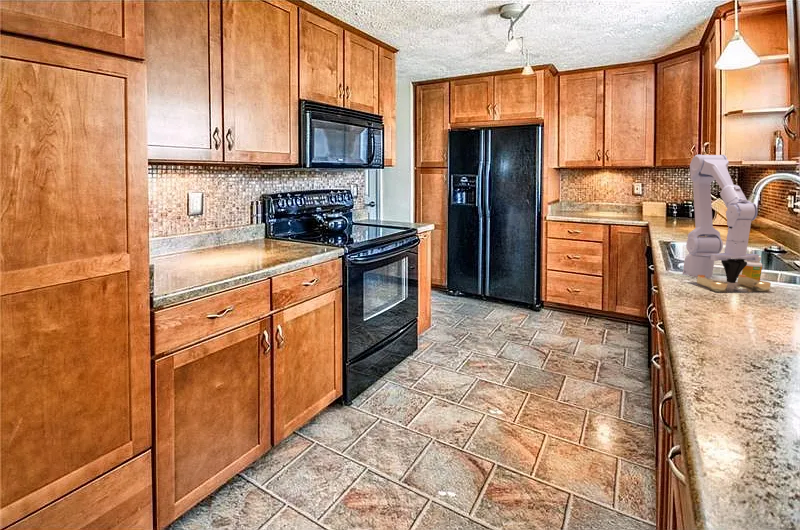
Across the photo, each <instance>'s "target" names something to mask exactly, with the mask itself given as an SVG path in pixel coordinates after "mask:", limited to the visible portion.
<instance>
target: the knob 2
mask: <svg viewBox="0 0 800 530" xmlns="http://www.w3.org/2000/svg"><path fill="white" fill-rule="evenodd" d="M736 282H737V283H739V284H742V285H745V286H748V287H752V289H753V290H756V291H762V292H769V291H771V284H772V283H771V282H769V281H765V280H760V281H758V280H755V279H751V278H748V277H746V275H742V274H739V276H738V278H737V281H736Z"/></svg>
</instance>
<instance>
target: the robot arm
mask: <svg viewBox="0 0 800 530" xmlns="http://www.w3.org/2000/svg"><path fill="white" fill-rule="evenodd" d="M729 163H730V161H729V160H728V157H727V155H725V154H696V155H694V156H693V157H692V159H691V161H690V164H689V173H690V174H689V175H690V180H691V181H692V188H693V205H694V223H695V224H694V225H695V226H694V227H695V228H693V229H692V230H691V231H690V232H688V234H687V241H686V245H685V246H686V250H687V251H688V254H686V256H685V257H684V260H683V268H682V275H689V276H691V277H696V278H698V275H705V277H706V278H709V279H712V278H713V273H714V267H715V262H716V261H717V262H718V261H721V264H722V266H723V269H724V272H725V277H726V282H730V283H735V282H737V281H738V276H739V275H741V273H742V270H743V268H744V267H745V266H746V265H747V262H745V261H747V260H754V261H758V259H759V256H760V255H759V254H756V253H747V251H748V246H749V237H750V233H751V225H752V222H753V221H754V220H756V219H757V217H758V207H757V204H756V203H754V202H751V201H750V200H748V199H747V198H746V195H745V193H744V192H743V190H742V188H741V187H740V185H738V184H734V182H733V179H732V177H731V175H730V172H729V170H728V167H729V166H730V165H729ZM714 181H716V183H717V185H718V186H719V187H720V189H721V191H720V192H719V195H720V198H721V200H722V201H723V204H724V205H725V208H727V209H726V211H725V217H726V225H727V226H728V227H727V234H726V240H725V248H724V252H722V250H723V246H724V243H723V242H724V241H723V240H722V237H721V232H720V231H719V230H717V229H716V228H715V227H714V225H713V222H714V221H713V211H712V207H713V205H712V192H711V190H712V189H711V184H712V182H714Z"/></svg>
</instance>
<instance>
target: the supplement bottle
mask: <svg viewBox="0 0 800 530" xmlns="http://www.w3.org/2000/svg"><path fill="white" fill-rule="evenodd" d="M761 259H762V256H761V255H759V259H758V261H754V260H744V261H745V262H747V265H746V266H745V267H744V268H743V270H742V271H741V275H746V277H748V278H751V279H755V280H758V281H761V277H762V276H761V275H762V269H763V263H762V262H761Z"/></svg>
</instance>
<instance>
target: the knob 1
mask: <svg viewBox="0 0 800 530" xmlns="http://www.w3.org/2000/svg"><path fill="white" fill-rule="evenodd" d="M696 278H697V279H696V282H697V283H698V284H700V285H703V286H706V287H709V288H710V290H712V291H717V292H726V291H727V284H728V283H726V282H727V281H721V280H715V279H712V278H706V277H705V275H698V277H696Z"/></svg>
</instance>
